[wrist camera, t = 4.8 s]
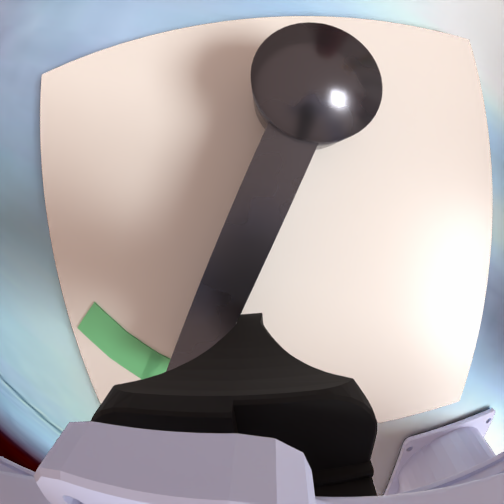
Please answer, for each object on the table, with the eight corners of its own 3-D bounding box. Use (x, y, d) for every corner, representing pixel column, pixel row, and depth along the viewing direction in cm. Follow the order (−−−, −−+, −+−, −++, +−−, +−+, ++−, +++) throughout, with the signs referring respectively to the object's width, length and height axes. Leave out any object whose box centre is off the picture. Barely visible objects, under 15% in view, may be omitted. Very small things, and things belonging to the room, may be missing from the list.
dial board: (452, 392, 15) (460, 401, 14) (118, 420, 16) (112, 431, 15) (459, 45, 10) (470, 39, 9) (52, 78, 12) (40, 74, 10)
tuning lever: (277, 39, 10) (281, 5, 7) (370, 81, 10) (397, 58, 8) (148, 352, 13) (127, 387, 11) (228, 385, 14) (221, 426, 11)
